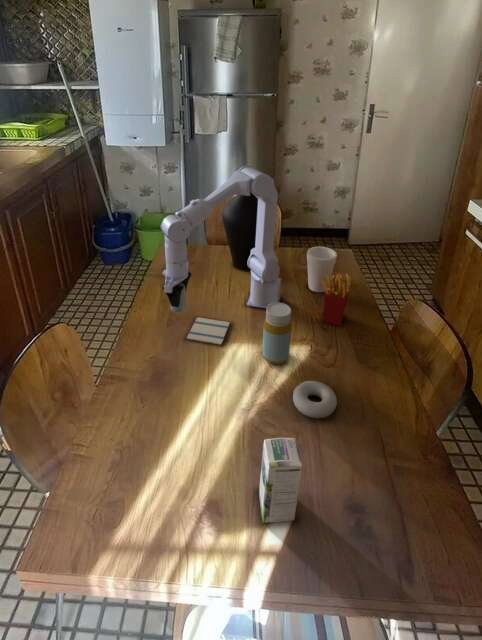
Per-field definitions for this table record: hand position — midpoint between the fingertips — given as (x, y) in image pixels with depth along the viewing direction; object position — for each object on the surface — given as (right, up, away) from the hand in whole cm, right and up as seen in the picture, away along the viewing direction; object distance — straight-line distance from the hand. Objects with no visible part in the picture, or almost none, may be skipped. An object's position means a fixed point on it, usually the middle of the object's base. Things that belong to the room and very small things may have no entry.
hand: (178, 301), depth 123 cm
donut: (+34, -21, -22) cm, 46 cm away
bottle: (+27, -14, -8) cm, 31 cm away
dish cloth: (+9, -9, +1) cm, 12 cm away
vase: (+20, +8, +37) cm, 43 cm away
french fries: (+45, -6, +9) cm, 47 cm away
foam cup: (+44, +1, +24) cm, 50 cm away
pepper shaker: (0, -2, +1) cm, 2 cm away
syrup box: (+23, -31, -44) cm, 59 cm away
